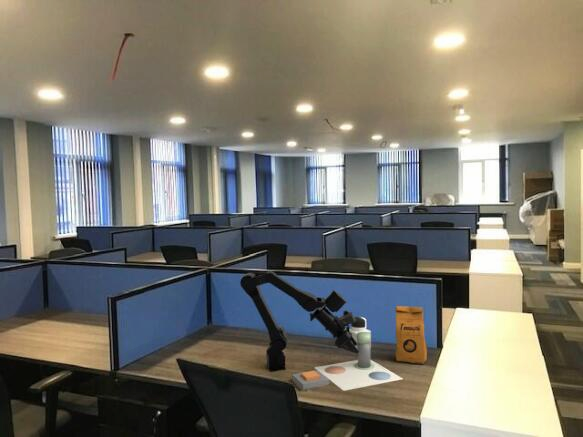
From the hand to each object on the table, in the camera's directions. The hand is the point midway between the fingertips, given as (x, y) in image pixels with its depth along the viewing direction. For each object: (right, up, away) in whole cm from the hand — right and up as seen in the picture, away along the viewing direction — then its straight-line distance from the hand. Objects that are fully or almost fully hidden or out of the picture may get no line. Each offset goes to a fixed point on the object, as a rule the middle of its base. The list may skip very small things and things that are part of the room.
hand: (357, 348), depth 184 cm
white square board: (-1, -8, -7) cm, 10 cm away
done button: (-19, -7, -14) cm, 24 cm away
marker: (+3, -7, 0) cm, 7 cm away
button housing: (-19, -9, -14) cm, 25 cm away
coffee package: (+23, -7, +7) cm, 25 cm away
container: (+4, -7, +26) cm, 27 cm away
